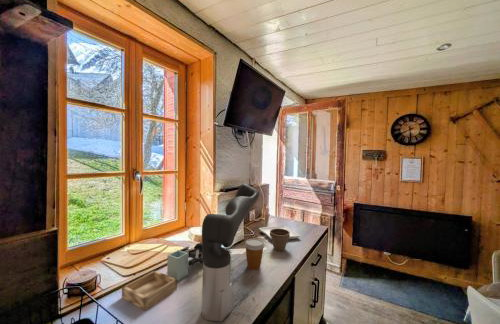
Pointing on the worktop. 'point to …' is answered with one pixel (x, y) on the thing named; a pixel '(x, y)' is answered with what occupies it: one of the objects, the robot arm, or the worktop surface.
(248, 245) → the disposable coffee cup
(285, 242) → the flower pot
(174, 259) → the square green vase
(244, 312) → the worktop surface
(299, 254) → the worktop surface
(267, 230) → the salad plate
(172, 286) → the pine crate
